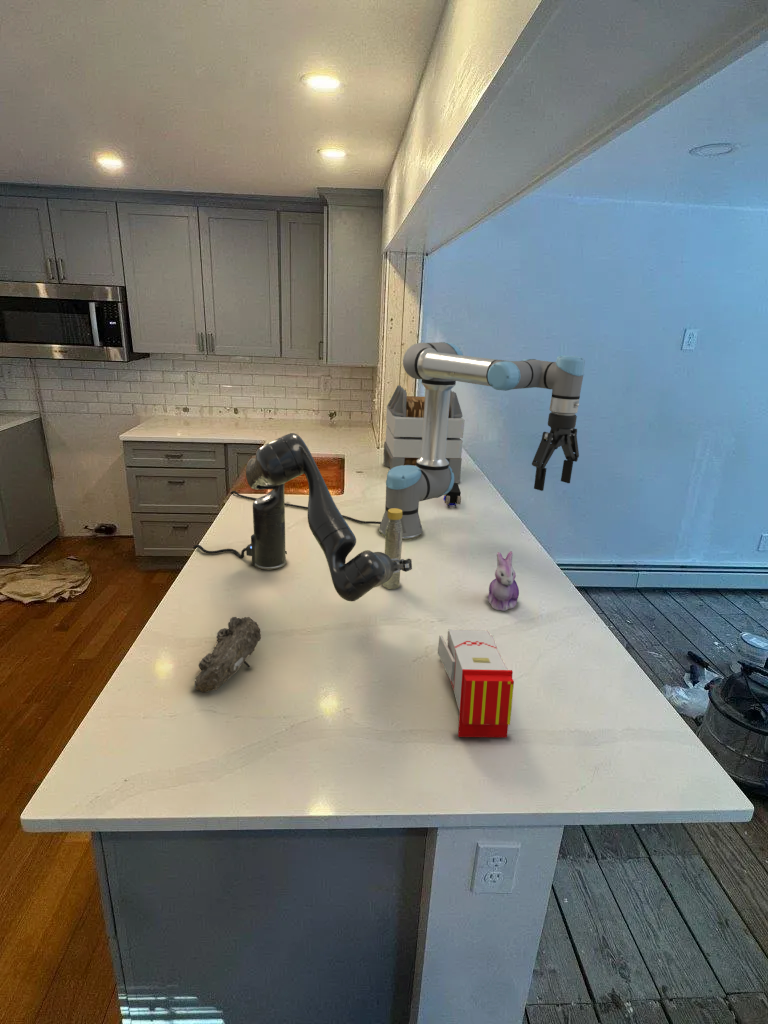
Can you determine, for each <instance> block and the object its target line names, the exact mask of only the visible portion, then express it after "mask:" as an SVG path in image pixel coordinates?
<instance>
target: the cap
mask: <svg viewBox="0 0 768 1024" xmlns="http://www.w3.org/2000/svg"><path fill="white" fill-rule="evenodd" d="M387 517H388V518H389V519H392V520H399V519H401V518H402V510H401V509H397V508H391V509H388V516H387Z"/></svg>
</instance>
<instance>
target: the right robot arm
mask: <svg viewBox="0 0 768 1024" xmlns="http://www.w3.org/2000/svg"><path fill="white" fill-rule="evenodd" d="M585 365H586V360H585V358H584V357H582V356H578V355H566V354H565V355H564V354H563V355H558V356H557V357H556V360H555V361H549V360H541V359H536V358H524V359H521V360H506V359H505V360H504V359H503V360H502V359H496V358H487V357H479V356H471V355H464V354H463V352H462V350H461V349H460V347H459V346H457V345H456V344H455V343H451V342H445V341H443V342H442V341H441V342H440V341H439V342H438V341H437V342H417V343H414V344H412V345H411V346H409V347H408V348H407V350H406V351H405V353H404V355H403V358H402V366H403V369H404V372H405V373H406V374H407V375H408V376H409V377H411V378H412V379H415V380H421V385H422V386H423V387H424V389H425V392H424V397H425V404H424V419H423V434H422V449H421V457H420V458H418V459H417V461H416V466H413V465H401V466H396V467H394V468H392V469H390V468H389V470H388V472H387V474H386V479H385V504H384V505H385V507H384V508H385V509H384V513H383V515H382V519H381V521H377V520H376V521H374V520H373V521H372V520H369V521H368V520H367V521H365V520H360V519H356V518H353V517H350V516H348V515H344V514H341V515H342V516H343V518H344V519H345V520H350V521H353V522H356V523H359V524H366V525H368V524H369V525H371V524H373V525H379V527H378V533H379V534H380V535H381V536H382V537H385V534H386V526H387V524H388V522H389V520H390V519H389V518H388V517H387V516H388V509H391V508H397V509H401V510H402V518H401V519H400V521H401V524H402V529H403V532H402V541H410V540H415V539H418V538H420V537H421V536H422V535H423V525H422V524H421V518H420V515H419V507H420V506H419V505H420V502H423V501H427V500H431V499H437V498H440V497H444V495H445V494H447V493H448V492H449V491H450V490H451V489H452V487H453V484H454V473H452V469H451V467H450V466H449V462H448V461H447V459H446V458H445V453H446V441H447V428H448V416H449V404H450V392H451V391H452V389H453V388H454V387H455V386H456V384H457V382H461V383H465V384H473V385H479V386H487V387H491V388H492V389H494V390H496V391H503V392H504V391H511V390H520V389H532V388H533V389H534V388H539V389H546V390H551V398H550V404H549V413H548V418H547V419H548V420H547V426H548V427H549V428H550V431H549V432H548V431H543V432H542V435H541V440H540V442H539V445H538V447H537V449H536V452H535V454H534V457H533V460H532V461H531V466H533V467H535V475H534V477H535V478H534V485H533V489H534V490H537V491H539V492H543V491H544V489H545V484H546V483H545V482H546V476H547V468H546V466H547V465H548V463H549V461H550V459H551V457H552V456H553V454H554V453H555V451H556V450H557V449H558V448H560V447H561V449H562V452H563V455H564V458H565V459H563V463H562V468H561V469H562V470H561V475H560V482H562V483H566V484H571V478H572V472H573V466H574V463H576V462H578V461H579V457H580V453H579V444H578V428H576V423H577V419H578V416H577V414H578V412H579V411H578V410H579V406H580V397H581V391H582V385H583V380H584V376H585ZM230 494H231V495H233V494H235V495H236V496H238V497H239V498H244V499H246V500H247V499H248V500H253V501H255V500H256V499H258V498H259V497H252V496H248V495H243V494H240V493H238V492H237V491H236V490H232V491H231V492H230ZM285 506H286V507H293V508H298V509H304V510H308V506H303V505H298V504H291V503H288V502H287V503H286V502H285Z"/></svg>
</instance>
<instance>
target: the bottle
mask: <svg viewBox="0 0 768 1024" xmlns="http://www.w3.org/2000/svg"><path fill="white" fill-rule="evenodd" d="M402 532H403V529H402V524H401V521H400V519H399V520H392V519H390V520H389V522H388V524H387V526H386V534H385V538H384V553H385V554H386V555H388V556H389V557H390V558H391V559H393V558H398V560H401V559H402V549H403V540H402ZM392 562H393V561H392ZM400 580H401V570H400V571H399V572H398V573H393V575H392V577H391V578H390V579H389V580H388V581H387V582H385V583H384V584H382V586H383V587H384V588H385V589H388V590H396V589H398V588H400V584H401V583H400V582H401V581H400Z"/></svg>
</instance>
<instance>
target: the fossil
mask: <svg viewBox="0 0 768 1024" xmlns="http://www.w3.org/2000/svg"><path fill="white" fill-rule="evenodd" d="M227 627H228V628H227ZM227 627H224V628H220V629H219V630H218V631H217V633H216V644H215V646H214V647H213V649H212V652H210V653H207V654H206V655H205V656H203V657H202V658H201V660H200V661H199V663H198V668H199V670H200V672H199V673H198V674H197V676H195V678H194V679H195V680H194V685H195V690H196V691H200V692H201V693H207V692H211V691H217V690H218V689H220V688H221V686H223V685H224V684H225V683H226V682H228V680H229V679H230V678H231V677H232V676H233V675H235V674H236V673H238V671H239V669H240V667H241V666H242V665H243V664H244V665H245V667H247V668H250V667H251V665H250V663H248V662H247V661H246V660H247V659H248V657H249V656H251V655H253V653H254V652H255V650H256V647H257V646H258V643H259V642H260V641H261V638H262V634H261V630H262V629H261V628H260V626H259V624H258V622H257V621H255V620H254V619H253V618H251V617H250V616H247V617H246V616H245V617H242V618H241V617H237V616H232V617H231V618H229V621H228V624H227Z"/></svg>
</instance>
